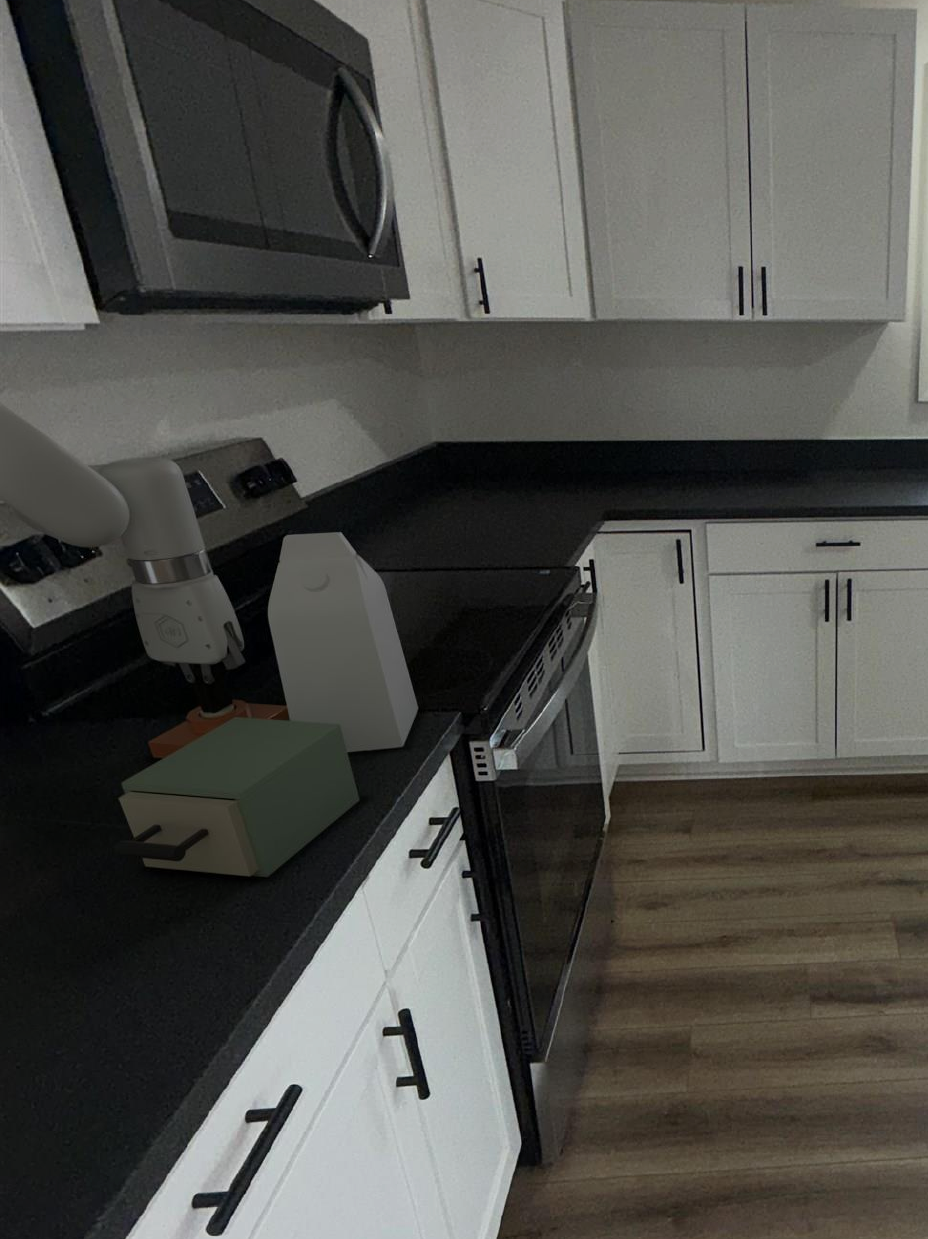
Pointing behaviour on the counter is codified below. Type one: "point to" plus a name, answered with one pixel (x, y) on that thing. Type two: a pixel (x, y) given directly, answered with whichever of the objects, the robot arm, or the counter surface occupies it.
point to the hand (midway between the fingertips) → (218, 707)
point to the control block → (211, 725)
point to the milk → (339, 643)
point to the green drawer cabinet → (264, 780)
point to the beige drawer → (187, 833)
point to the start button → (220, 713)
